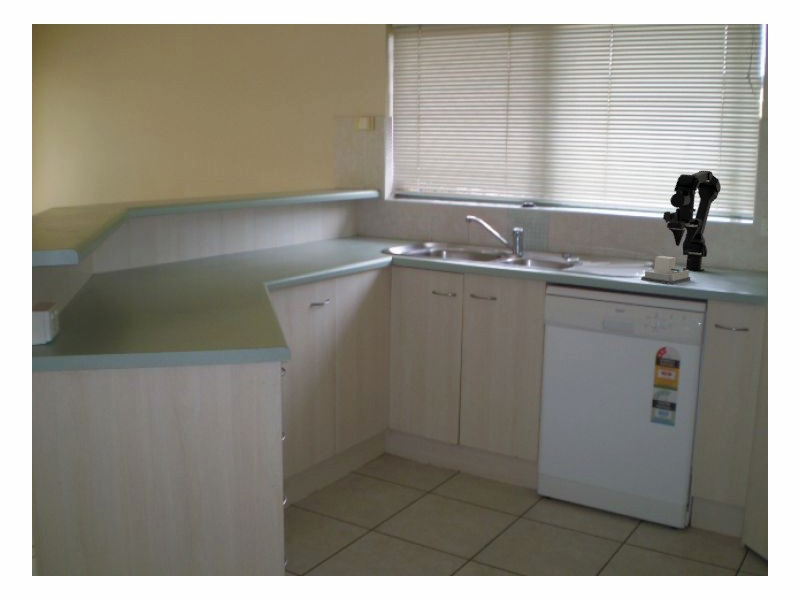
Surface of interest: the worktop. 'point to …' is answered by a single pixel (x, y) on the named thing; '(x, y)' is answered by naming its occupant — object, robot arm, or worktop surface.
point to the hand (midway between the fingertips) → (683, 244)
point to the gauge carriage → (665, 264)
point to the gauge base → (667, 277)
